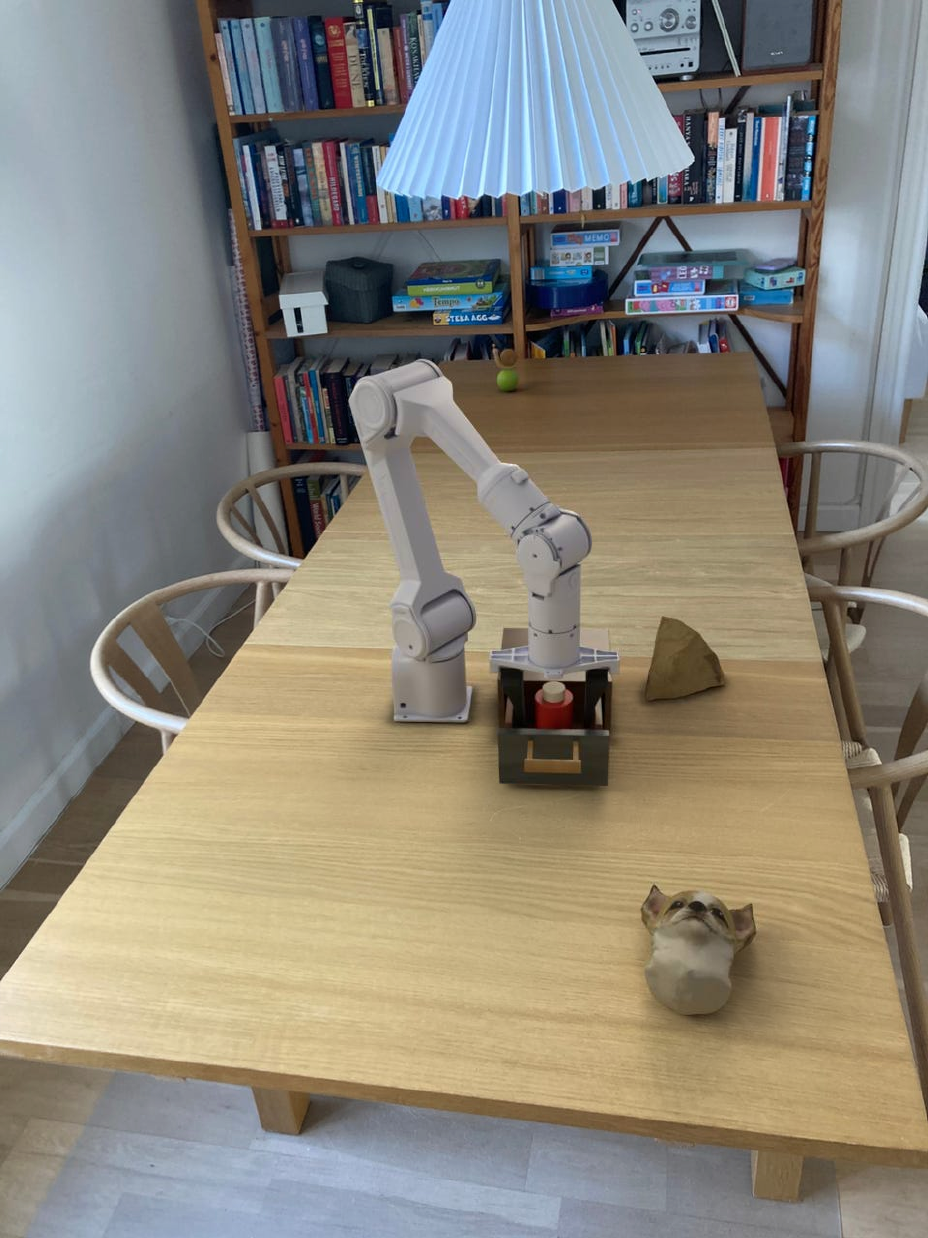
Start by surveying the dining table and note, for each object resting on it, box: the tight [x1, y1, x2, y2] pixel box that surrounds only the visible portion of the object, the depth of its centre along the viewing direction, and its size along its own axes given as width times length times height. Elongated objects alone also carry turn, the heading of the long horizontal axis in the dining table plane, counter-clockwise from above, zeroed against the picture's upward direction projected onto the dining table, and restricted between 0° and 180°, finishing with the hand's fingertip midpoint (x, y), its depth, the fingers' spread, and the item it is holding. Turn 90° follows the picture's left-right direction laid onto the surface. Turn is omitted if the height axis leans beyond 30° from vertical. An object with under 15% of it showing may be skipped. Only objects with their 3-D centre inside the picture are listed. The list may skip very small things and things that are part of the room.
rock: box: [644, 616, 726, 702], centre depth 132 cm, size 11×9×10 cm
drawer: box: [497, 686, 611, 787], centre depth 117 cm, size 16×12×7 cm
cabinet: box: [496, 627, 613, 743], centre depth 128 cm, size 13×14×9 cm
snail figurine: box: [491, 343, 520, 392], centre depth 251 cm, size 5×6×12 cm
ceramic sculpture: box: [640, 883, 757, 1016], centre depth 91 cm, size 11×9×15 cm
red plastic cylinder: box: [535, 681, 573, 730], centre depth 118 cm, size 4×4×8 cm
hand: (554, 722), depth 118 cm, fingers open, 7 cm apart
